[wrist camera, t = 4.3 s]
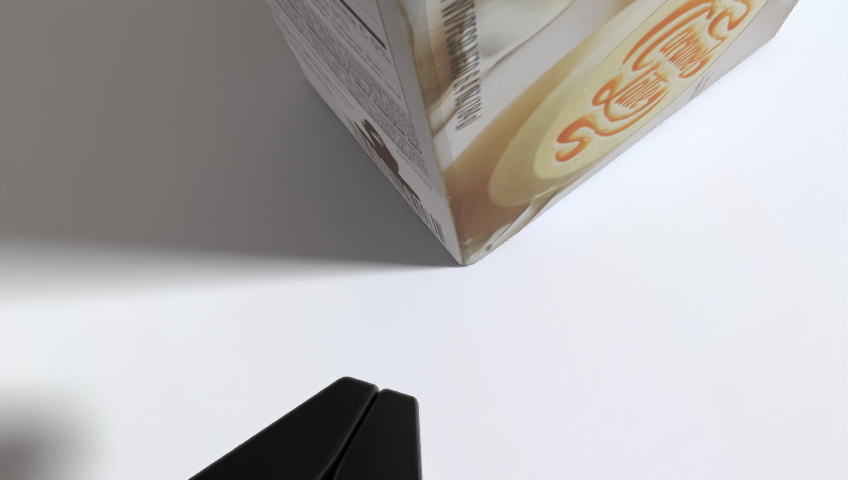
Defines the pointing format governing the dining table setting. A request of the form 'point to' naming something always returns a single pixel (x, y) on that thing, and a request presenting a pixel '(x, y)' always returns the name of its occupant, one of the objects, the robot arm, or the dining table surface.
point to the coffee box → (511, 91)
